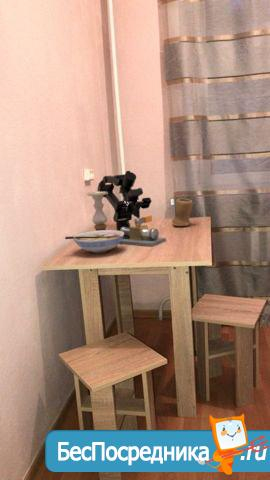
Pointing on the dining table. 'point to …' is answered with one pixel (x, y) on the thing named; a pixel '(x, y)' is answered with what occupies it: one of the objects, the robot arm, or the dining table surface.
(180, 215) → the stone cup
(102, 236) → the ramen bowl
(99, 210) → the candle holder
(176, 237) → the dining table surface
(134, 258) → the dining table surface
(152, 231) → the valve assembly
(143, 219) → the valve lever
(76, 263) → the dining table surface
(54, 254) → the dining table surface
